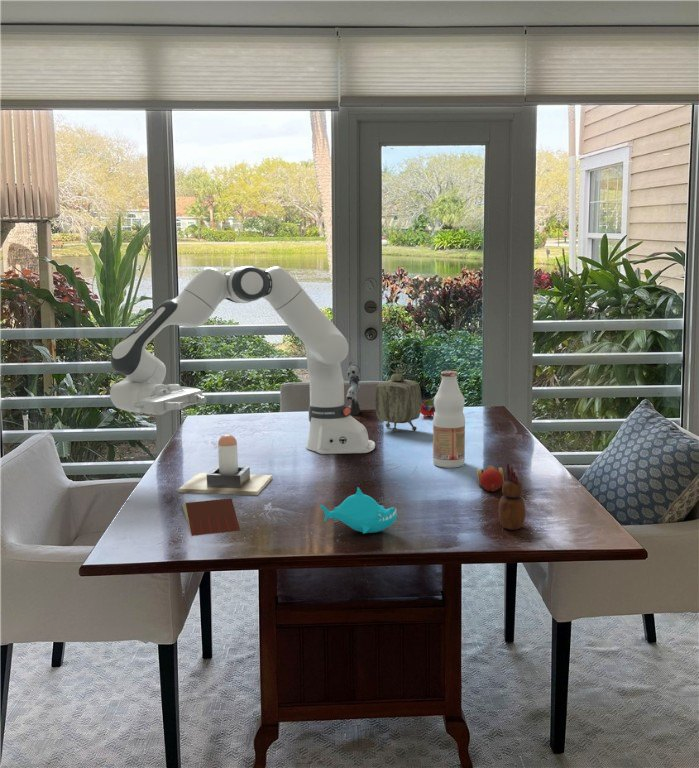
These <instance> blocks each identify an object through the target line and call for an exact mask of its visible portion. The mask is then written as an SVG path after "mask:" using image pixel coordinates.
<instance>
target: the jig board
mask: <svg viewBox="0 0 699 768" xmlns="http://www.w3.org/2000/svg"><path fill="white" fill-rule="evenodd" d="M208 473H209V472H197V473H196V474H195V475H193V476H192V477H191V478H190V479H188V480H187V481H186V482H184V484H183V485H181V486H180V487H179V488H178V493H184V494H185V493H186V494H189V493H191V494H215V495H242V496H243V495H246V496H247V495H249V496H250V495H251V496H258V495H259V494H260V493H262V491H263V490H264V488H266V486H267V485H268V484H269V483H270V482H271V480H272V479H273V474H251V473H250V479H249V480H248V481H247V482H246V483H245V484H244V485H243V486H242V487H241V488H215V487H207V474H208Z"/></svg>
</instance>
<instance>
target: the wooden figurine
mask: <svg viewBox="0 0 699 768" xmlns="http://www.w3.org/2000/svg"><path fill="white" fill-rule="evenodd" d="M518 478H519V477H518V475H516V472H515V471H514V468H513V466H510V465H509V463H506V474H505V480H504V483H503V484H502V486H501V492H502V496H501V497H500V500H499V502H498V518H499V521H500V524H501V526H502V528H504V529H506V530H509V531H510V530H512V531H513V530H519V529H521V528H522V527H523V524H524V522H525V518H526V505H525V502H524V500H523V498H522V497H521V496H522V494H523V485H522V483H521V481H519V479H518Z"/></svg>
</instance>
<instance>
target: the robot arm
mask: <svg viewBox="0 0 699 768" xmlns="http://www.w3.org/2000/svg"><path fill="white" fill-rule="evenodd" d="M262 298H263V299H264V300H266V302H267V303H269V305H270V306H271V307H272V309H274V311H275V312H276V313H277V314H278V315H279V317H280V318H281V319H282V320H283V322H284V323H285V325H287V326H288V328H289V329H290V330H291V331H292V332H293V334H294V335H295V336H296V337H297V338H299V340H300V341H301V342H302V343H303V345H304V347H305V355H306V363H307V373H308V379H309V405H308V420H309V421H308V422H309V430H308V437H307V441H306V445H305V449H307V450H309V451H312V452H316V453H318V454H321V455H328V454H329V455H330V454H331V455H332V454H336V455H337V454H367V453H370V452H371V451H374V449H375V448H376V443H375V441H373V440H371V439H369V434H368V430H367V427H365V426H364V424H362V423H360V421H358V420H356V418H354V417H353V416H352V415H350V413H351V410H350V406H351V405H347V404H346V403H345V387H344V386H345V384H344V383H345V380H344V377H343V373H342V372H343V371H342V366H341V363H342V362H344V360H345V359H346V358H347V356H348V354H349V350H350V349H349V343H348V340H347V338H346V336H344V335H343V333H342V332H341V331H340V330H339V328H338V327H337V326H335V324H334V323H333V322H332V321H331V320H330V319H329V317H328V316H327V315H326V314H325V313H324V312H323V311H322V310H321V309H320V308H319V307H318V305H316V303H315V302H314V301H313V299H312V298H311V297H310V296H309V295H308V293H307V292H306V291H305V289H304V288H303V287H302V286H301V285H300V284H299V282H298V281H297V280H296V279H295V278H294V277H293V276H292V275H291V274H290V273H289V272H288V271H287V270H285V269H284V268H283V267H282V266H272V267H269V268H267V269H266V270H263V269H261V268H258V267H257V266H253V265H245V266H244V265H243V266H238V267H235V268H233V269H231V270H228V271H227V272H225V273H223V272H222V271H221V270H219V269H218V268H214V267H212V266H211V267H209V266H208V267H204V268H203V269H201V270H200V271H199V272H198V273H197V274H196V275H195V276H194V277H192V279H191V280H190V281H189V282H188V283H187V284H186V286H185V287H184V289H183V290H182V291H181V292H180V293H179V294H178V295H177V296H176V297H175V298H172V299H167V300H165V301H162V302H161V303H160V304H159V305H157V306H156V308H154V309H153V310H152V311H151V312H150V313H149V314H148V315H147V316H146V317H145V318H144V319H143V320H142V321H141V323H139V324H138V325H137V326H136V327H135V328H134V329H133V331H131V332H130V333H129V334H128V335H127V336H126V337H124V338H123V339H122V340H120V341H118V343H116V344H115V346H114V347H113V348H112V350H111V353H110V364H111V367H112V369H113V370H114V371H116V372H118V373H120V374H121V375H124V376H125V378H123V379H122V380H121V381H119V382H116V383H114V384H112V386H111V388H110V391H109V397H110V400H111V403H112V404H113V406H114V407H116V408H117V409H119V410H122V411H126V412H128V413H129V412H131V413H143V414H146V415H148V414H149V415H153V416H154V415H156V416H163V415H164V414H165V413H167V412H170V411H173V410H177V411H178V410H179V411H180V410H183V409H184V408H185V407H189V406H192V405H196V404H205V403H207V398H206V396H204V395H203V391H202V389H199V388H195V387H190V386H189V387H188V386H181V385H180V384H178V383H170V384H164V383H165V381H166V378H167V366H166V364H165V363H164V362H163V361H162V360H160V359H159V357H156V356H155V355H154V354H152V352H150V351H149V350H147V349H146V347H147V346H148V344H149V343H150V342H151V341H152V340H153V339H154V338H155V337H156V336H157V335H158V334H159V333H161V331H162V330H163V329H164V328H165V327H168V326H172V325H173V326H174V325H175V326H179V327H183V328H189V329H190V328H191V329H192V328H197V327H201V326H202V325H204V324H205V323H206V322H207V321H208V320H209V319H210V317H211V316H212V314H213V313H214V312H215V311H216V309H217V308H218V306H219V305H220V304H221V303H222V302H223V301H224V300H228V301H229V302H232V303H235V304H236V303H237V304H248V303H251V302H254V301H258V300H260V299H262Z"/></svg>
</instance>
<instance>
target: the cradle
mask: <svg viewBox="0 0 699 768" xmlns="http://www.w3.org/2000/svg"><path fill="white" fill-rule="evenodd" d="M207 473H208V474H207V487H215V488H241V487H242V486H243V485H244V484H245V483H246V482H247V481H248V480H249V479H250V474H251V467H250V466H245V465H244V466H243V465H242V466H241V465H240V466H239V465H238V474H219V465H216V466H215V467H214V468H213V469H212V470H210V471H209V472H207Z"/></svg>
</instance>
